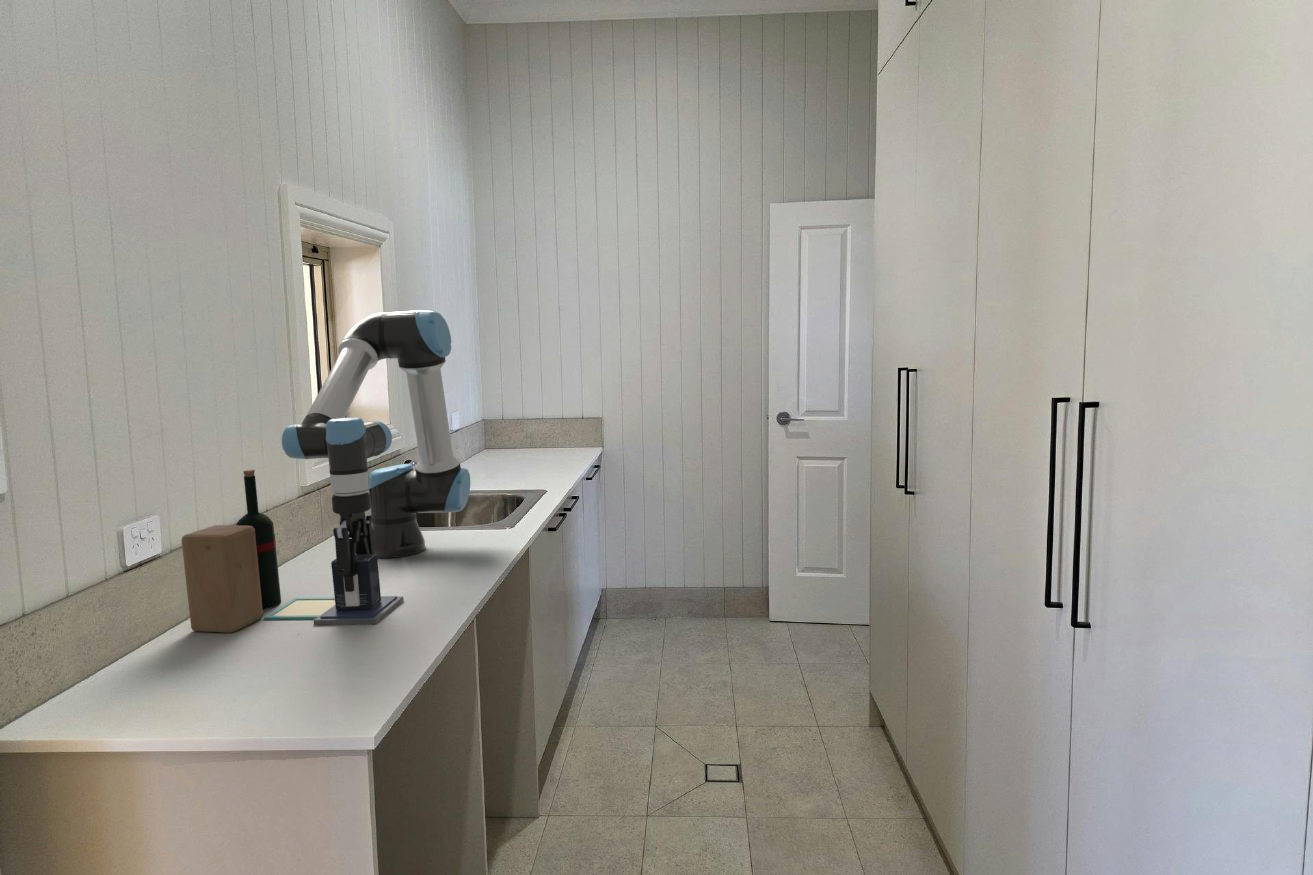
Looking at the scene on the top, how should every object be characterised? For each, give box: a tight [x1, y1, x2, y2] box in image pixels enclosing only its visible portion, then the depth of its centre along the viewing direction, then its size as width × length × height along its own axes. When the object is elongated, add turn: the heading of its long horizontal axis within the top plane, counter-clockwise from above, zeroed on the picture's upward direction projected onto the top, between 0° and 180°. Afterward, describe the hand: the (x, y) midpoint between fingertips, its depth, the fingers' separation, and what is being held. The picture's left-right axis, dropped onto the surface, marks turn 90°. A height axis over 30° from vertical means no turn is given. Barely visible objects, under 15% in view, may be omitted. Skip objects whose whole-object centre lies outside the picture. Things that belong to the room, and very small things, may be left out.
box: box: [330, 554, 382, 610], centre depth 179 cm, size 8×6×11 cm
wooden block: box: [181, 524, 264, 634], centre depth 174 cm, size 10×10×20 cm
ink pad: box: [313, 595, 404, 626], centre depth 180 cm, size 15×13×1 cm
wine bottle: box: [235, 469, 282, 611], centre depth 187 cm, size 8×10×30 cm
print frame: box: [263, 596, 335, 621], centre depth 183 cm, size 13×14×1 cm
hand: (359, 600), depth 180 cm, fingers closed on box, 6 cm apart
